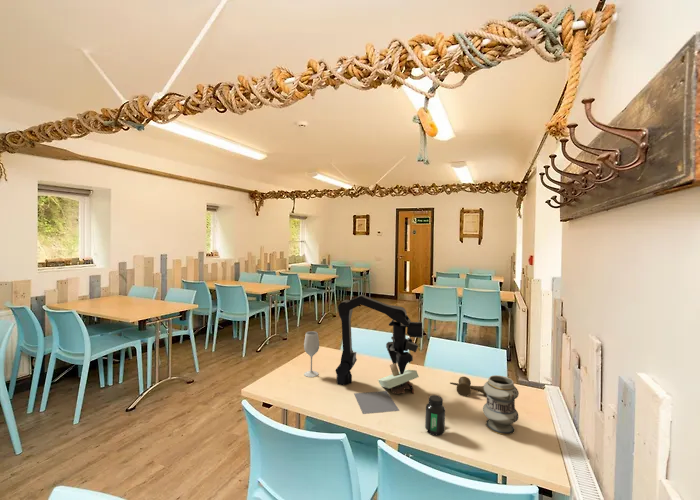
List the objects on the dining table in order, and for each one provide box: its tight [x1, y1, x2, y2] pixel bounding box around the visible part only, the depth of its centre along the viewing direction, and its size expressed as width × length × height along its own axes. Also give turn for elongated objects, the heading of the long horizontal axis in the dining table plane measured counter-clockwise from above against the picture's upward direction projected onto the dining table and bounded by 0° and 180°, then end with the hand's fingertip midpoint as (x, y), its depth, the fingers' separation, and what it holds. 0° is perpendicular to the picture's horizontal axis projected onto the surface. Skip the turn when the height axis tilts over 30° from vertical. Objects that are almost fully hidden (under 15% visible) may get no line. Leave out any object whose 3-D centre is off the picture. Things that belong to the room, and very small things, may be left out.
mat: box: [353, 390, 400, 415], centre depth 138 cm, size 15×17×1 cm
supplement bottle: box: [424, 394, 446, 437], centre depth 119 cm, size 7×7×12 cm
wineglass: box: [303, 330, 320, 378], centre depth 166 cm, size 8×8×21 cm
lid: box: [377, 363, 419, 389], centre depth 150 cm, size 14×16×8 cm
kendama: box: [449, 376, 487, 397], centre depth 149 cm, size 6×10×20 cm
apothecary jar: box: [482, 374, 519, 436], centre depth 122 cm, size 12×12×18 cm
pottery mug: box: [391, 381, 415, 395], centre depth 149 cm, size 12×10×8 cm
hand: (398, 369), depth 149 cm, fingers open, 9 cm apart
